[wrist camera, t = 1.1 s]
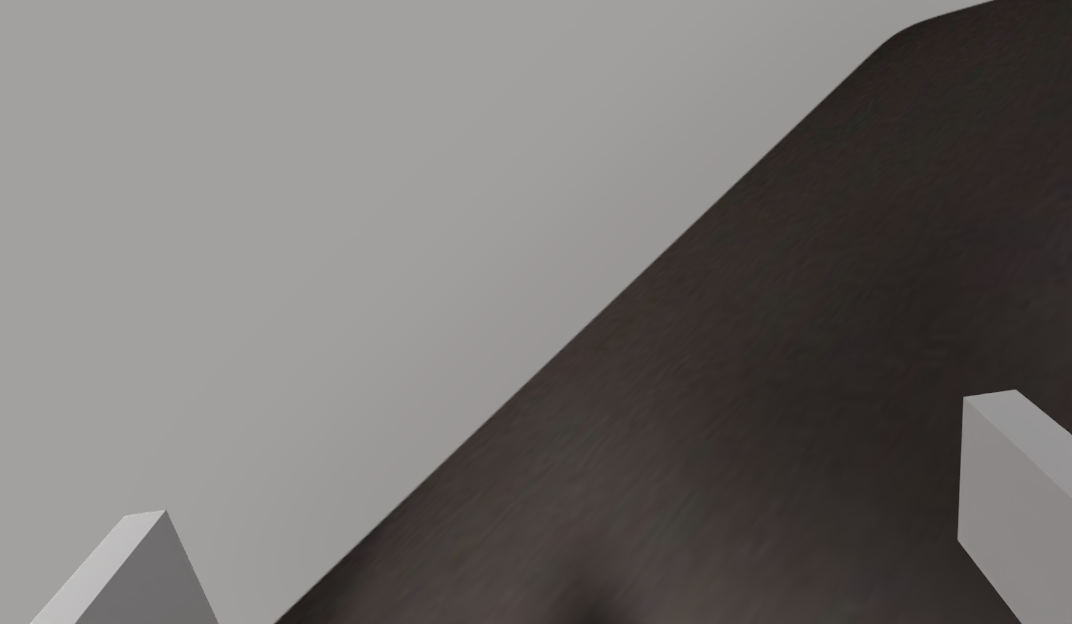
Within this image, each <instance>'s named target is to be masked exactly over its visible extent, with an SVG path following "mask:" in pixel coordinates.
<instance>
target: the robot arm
mask: <svg viewBox="0 0 1072 624" xmlns="http://www.w3.org/2000/svg"><path fill="white" fill-rule="evenodd" d="M958 541H959V542H960V544H961V545H962V546H963V548H964V549H965V550H966V552H967V553H968V554H969V555H970V557H971V558H972V559H973V561H974V562H975V563H976V565H977V566H978V567H979V568H980V570H981V571H982V572H983V574H984V575H985V576H986V578H987V579H988V580H989V582H990V583H991V584H992V585H993V587H994V588H995V589H996V591H997V592H998V593H999V595H1000V596H1001V597H1002V598H1003V600H1004V601H1005V602H1006V604H1007V605H1008V606H1009V608H1010V609H1011V610H1012V612H1013V613H1014V614H1015V615H1016V617H1017V618H1018V619H1019V621H1020V622H1021V623H1022V624H1072V435H1071V434H1070V433H1069V432H1068V431H1066V430H1065V429H1064V428H1063V427H1061V426H1060V425H1059V424H1058V423H1056V422H1055V421H1054V420H1053V419H1051V418H1050V417H1049V416H1048V415H1047V414H1045V413H1044V412H1043V411H1042V410H1040V409H1039V408H1038V407H1037V406H1035V405H1034V404H1033V403H1032V402H1030V401H1029V400H1028V399H1027V398H1026V397H1024V396H1023V395H1022V394H1021V393H1019V392H1018V391H1017V390H1010V391H1002V392H995V393H988V394H981V395H974V396H967V397H963V421H962V446H961V470H960V494H959V518H958ZM30 624H218V622H217V619H216V617H215V615H214V613H213V611H212V609H211V606H210V605H209V602H208V600H207V598H206V596H205V593H204V591H203V589H202V587H201V585H200V583H199V580H198V579H197V576H196V574H195V572H194V570H193V567H192V565H191V563H190V561H189V559H188V556H187V555H186V552H185V550H184V548H183V546H182V543H181V542H180V539H179V537H178V535H177V533H176V531H175V528H174V526H173V524H172V522H171V520H170V517H169V515H168V513H167V511H166V510H162V511H155V512H148V513H140V514H133V515H126V516H124V517H123V518H122V519H121V520H120V522H119V523H118V524H117V525H116V526H115V527H114V528H113V529H112V531H111V532H110V533H109V534H108V535H107V536H106V538H105V539H104V540H103V541H102V542H101V543H100V544H99V546H98V547H97V548H96V549H95V550H94V551H93V552H92V553H91V555H90V556H89V557H88V558H87V559H86V560H85V561H84V563H83V564H82V565H81V566H80V567H79V568H78V569H77V570H76V572H75V573H74V574H73V575H72V576H71V577H70V578H69V580H68V581H67V582H66V583H65V584H64V585H63V587H62V588H61V589H60V590H59V591H58V592H57V593H56V594H55V596H54V597H53V598H52V599H51V600H50V601H49V603H48V604H47V605H46V606H45V607H44V608H43V609H42V610H41V612H40V613H39V614H38V615H37V616H36V617H35V618H34V620H33V621H32V622H31V623H30Z"/></svg>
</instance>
